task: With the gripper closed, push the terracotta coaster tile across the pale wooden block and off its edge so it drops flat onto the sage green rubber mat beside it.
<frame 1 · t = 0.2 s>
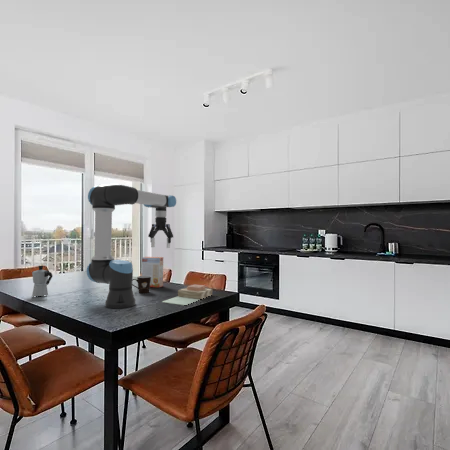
hand: (160, 247, 210), 28 cm above the table, tool pointing down, fingers open, 13 cm apart
coffee maker: (41, 296, 179), on the table
cracker box: (152, 286, 213), on the table
coffee mug: (141, 292, 193), on the table
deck: (195, 296, 183), on the table
mat: (181, 301, 170), on the table
coaster: (196, 289, 184), point 4 cm above the table, touching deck
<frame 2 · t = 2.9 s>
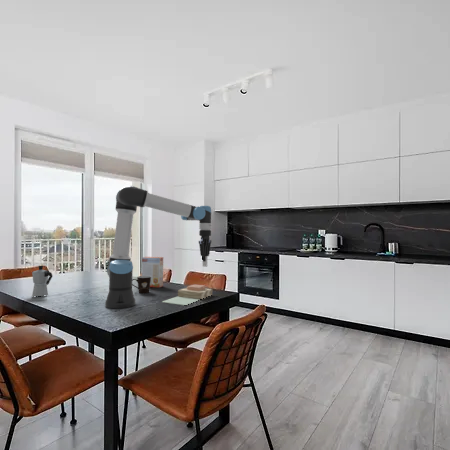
hand: (205, 266, 194), 17 cm above the table, tool pointing down, fingers closed
nothing on the table moved.
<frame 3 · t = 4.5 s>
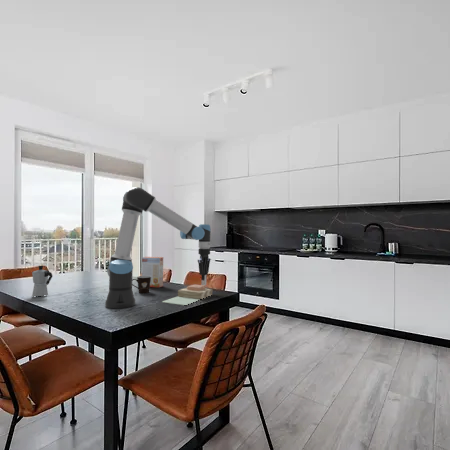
hand: (203, 285, 193), 5 cm above the table, tool pointing down, fingers closed
nothing on the table moved.
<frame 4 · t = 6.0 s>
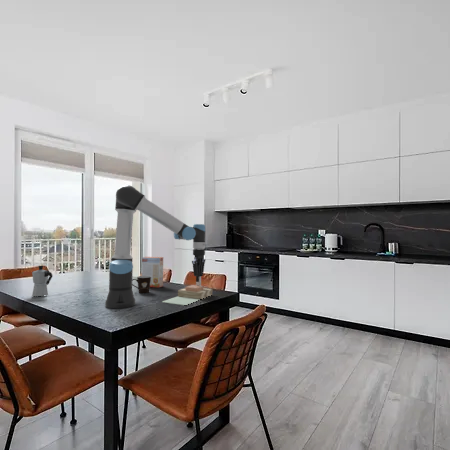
hand: (198, 286, 187), 5 cm above the table, tool pointing down, fingers closed
coaster: (194, 289, 183), point 4 cm above the table, touching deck, gripper
everything else where it was.
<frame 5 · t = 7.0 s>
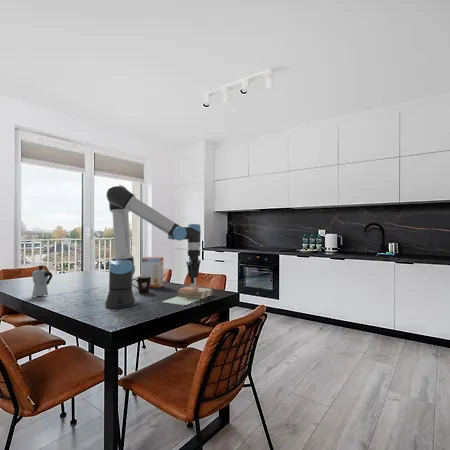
hand: (193, 288, 182), 5 cm above the table, tool pointing down, fingers closed
coaster: (189, 291, 177), point 4 cm above the table
everything else where it was.
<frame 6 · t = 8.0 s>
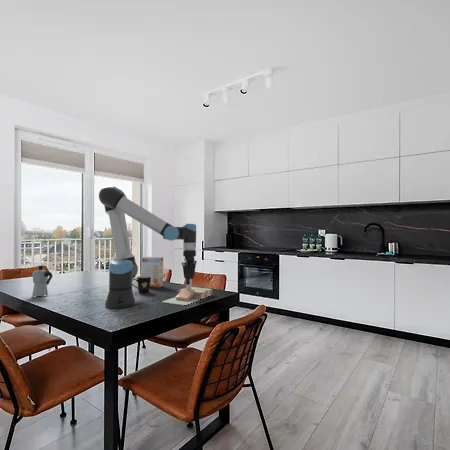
hand: (188, 289, 177), 5 cm above the table, tool pointing down, fingers closed
coaster: (185, 296, 174), point 2 cm above the table, tilted 21°, touching gripper, mat
everything else where it was.
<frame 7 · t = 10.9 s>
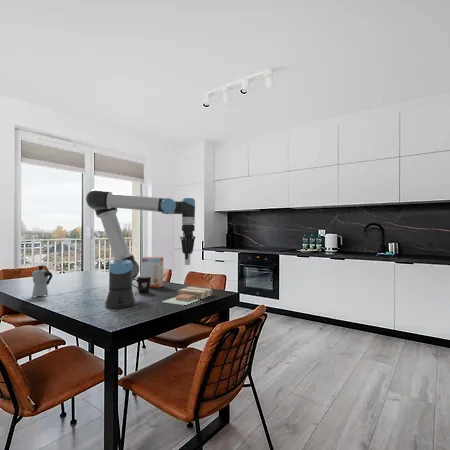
hand: (187, 264, 176), 20 cm above the table, tool pointing down, fingers closed
coaster: (185, 299, 173), resting on mat
everything else where it was.
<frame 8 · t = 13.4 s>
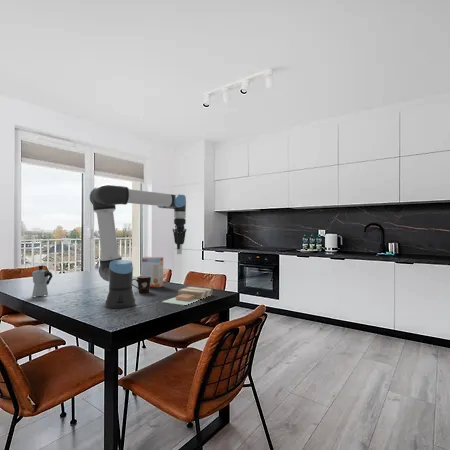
hand: (179, 254, 198), 24 cm above the table, tool pointing down, fingers closed
nothing on the table moved.
at the end: coaster inside the target area (4.0 cm from its centre), resting on mat; coaster tilted 0°; coaster touching mat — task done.
